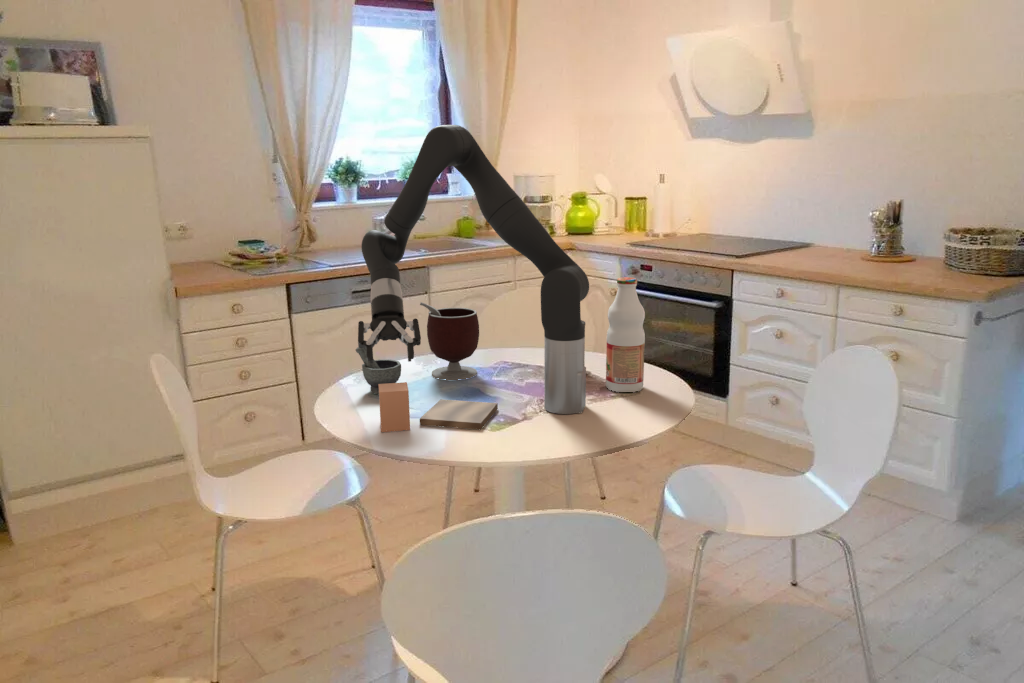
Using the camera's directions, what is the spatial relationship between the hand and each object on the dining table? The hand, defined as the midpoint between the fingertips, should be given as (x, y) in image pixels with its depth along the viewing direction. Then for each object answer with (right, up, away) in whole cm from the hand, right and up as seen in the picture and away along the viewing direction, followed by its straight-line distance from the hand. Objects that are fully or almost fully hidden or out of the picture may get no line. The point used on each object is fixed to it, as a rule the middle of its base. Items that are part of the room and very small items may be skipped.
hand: (390, 360), depth 175 cm
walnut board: (+16, -13, 0) cm, 20 cm away
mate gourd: (+11, -5, +34) cm, 36 cm away
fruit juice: (+56, -8, +20) cm, 60 cm away
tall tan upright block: (+2, -14, -6) cm, 15 cm away
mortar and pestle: (-6, -8, +20) cm, 23 cm away
